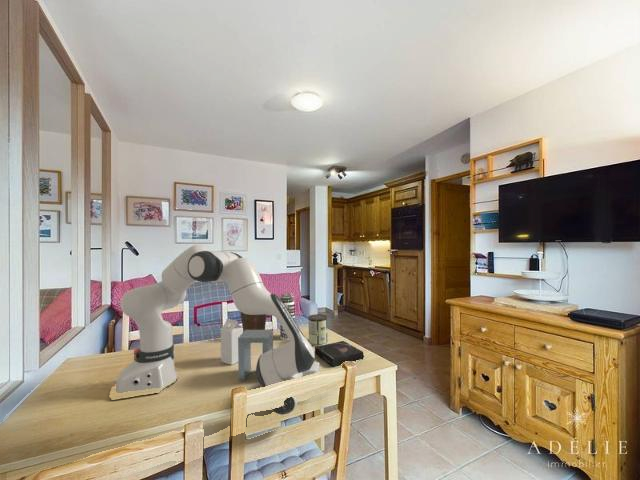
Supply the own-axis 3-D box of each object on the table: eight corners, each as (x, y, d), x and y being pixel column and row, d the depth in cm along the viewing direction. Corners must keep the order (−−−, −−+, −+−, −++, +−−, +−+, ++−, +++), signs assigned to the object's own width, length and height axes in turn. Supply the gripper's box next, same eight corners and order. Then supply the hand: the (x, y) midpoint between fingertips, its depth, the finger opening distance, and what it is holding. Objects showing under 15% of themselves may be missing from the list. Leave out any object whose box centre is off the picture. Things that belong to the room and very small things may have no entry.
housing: (268, 380, 112) (268, 337, 112) (238, 380, 113) (238, 337, 113) (273, 369, 122) (272, 329, 122) (245, 369, 123) (245, 329, 123)
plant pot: (272, 337, 162) (272, 309, 162) (244, 343, 153) (244, 313, 153) (262, 330, 176) (262, 304, 176) (236, 335, 167) (236, 307, 167)
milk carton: (233, 356, 136) (232, 317, 136) (243, 359, 133) (243, 319, 133) (221, 362, 130) (220, 320, 130) (231, 365, 127) (231, 322, 127)
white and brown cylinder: (296, 334, 166) (295, 292, 166) (295, 340, 157) (294, 295, 157) (280, 334, 166) (280, 292, 166) (278, 340, 157) (278, 295, 157)
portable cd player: (364, 360, 131) (364, 351, 131) (332, 368, 123) (332, 359, 123) (344, 348, 146) (344, 340, 146) (314, 355, 138) (314, 347, 138)
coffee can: (315, 338, 160) (314, 313, 160) (331, 341, 155) (330, 315, 155) (304, 344, 151) (304, 317, 151) (321, 347, 146) (320, 320, 146)
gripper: (319, 368, 97) (320, 352, 111) (260, 369, 98) (268, 353, 112) (320, 387, 97) (321, 368, 111) (260, 387, 98) (269, 369, 112)
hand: (294, 360), depth 112 cm, fingers open, 8 cm apart
